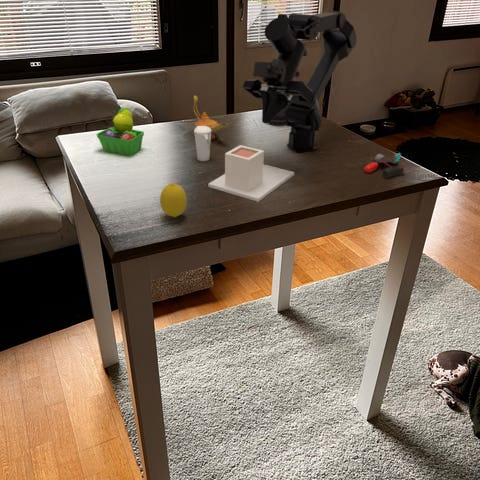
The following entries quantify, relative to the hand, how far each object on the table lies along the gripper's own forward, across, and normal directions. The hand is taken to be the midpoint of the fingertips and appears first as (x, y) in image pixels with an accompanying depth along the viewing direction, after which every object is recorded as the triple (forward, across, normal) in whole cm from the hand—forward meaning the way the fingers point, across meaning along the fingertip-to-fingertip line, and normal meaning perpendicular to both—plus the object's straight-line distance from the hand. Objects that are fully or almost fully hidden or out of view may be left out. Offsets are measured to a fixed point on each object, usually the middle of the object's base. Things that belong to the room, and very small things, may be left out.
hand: (264, 122), depth 116 cm
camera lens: (-12, -26, +32) cm, 43 cm away
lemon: (+30, +2, -17) cm, 34 cm away
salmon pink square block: (+12, +2, -3) cm, 13 cm away
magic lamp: (+3, -29, +10) cm, 31 cm away
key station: (+14, 0, +3) cm, 14 cm away
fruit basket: (+17, -38, -10) cm, 43 cm away
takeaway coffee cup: (+12, -18, +2) cm, 22 cm away
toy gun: (-2, +17, +29) cm, 34 cm away
